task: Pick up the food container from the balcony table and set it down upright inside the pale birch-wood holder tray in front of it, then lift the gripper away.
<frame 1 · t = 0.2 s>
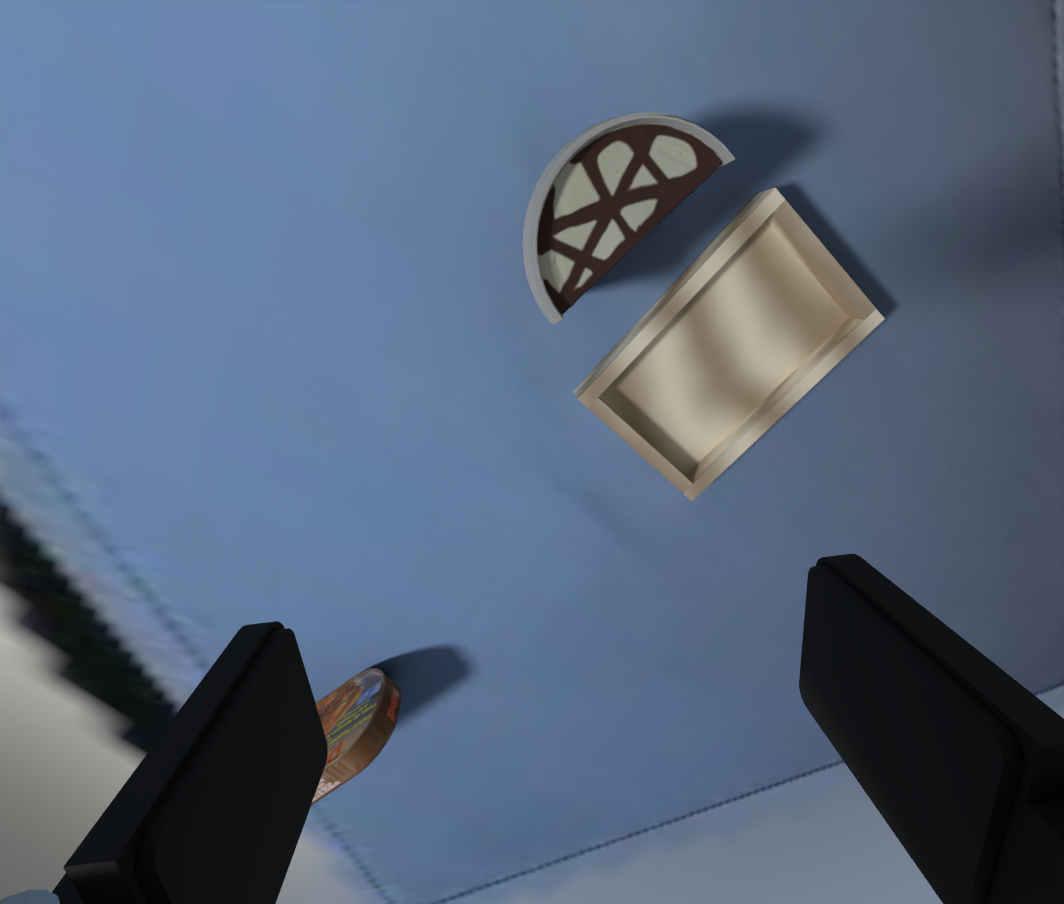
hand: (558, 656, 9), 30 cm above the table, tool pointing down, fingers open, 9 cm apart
food container: (578, 214, 35), on the table
holder tray: (715, 353, 39), on the table
tin: (341, 702, 48), on the table
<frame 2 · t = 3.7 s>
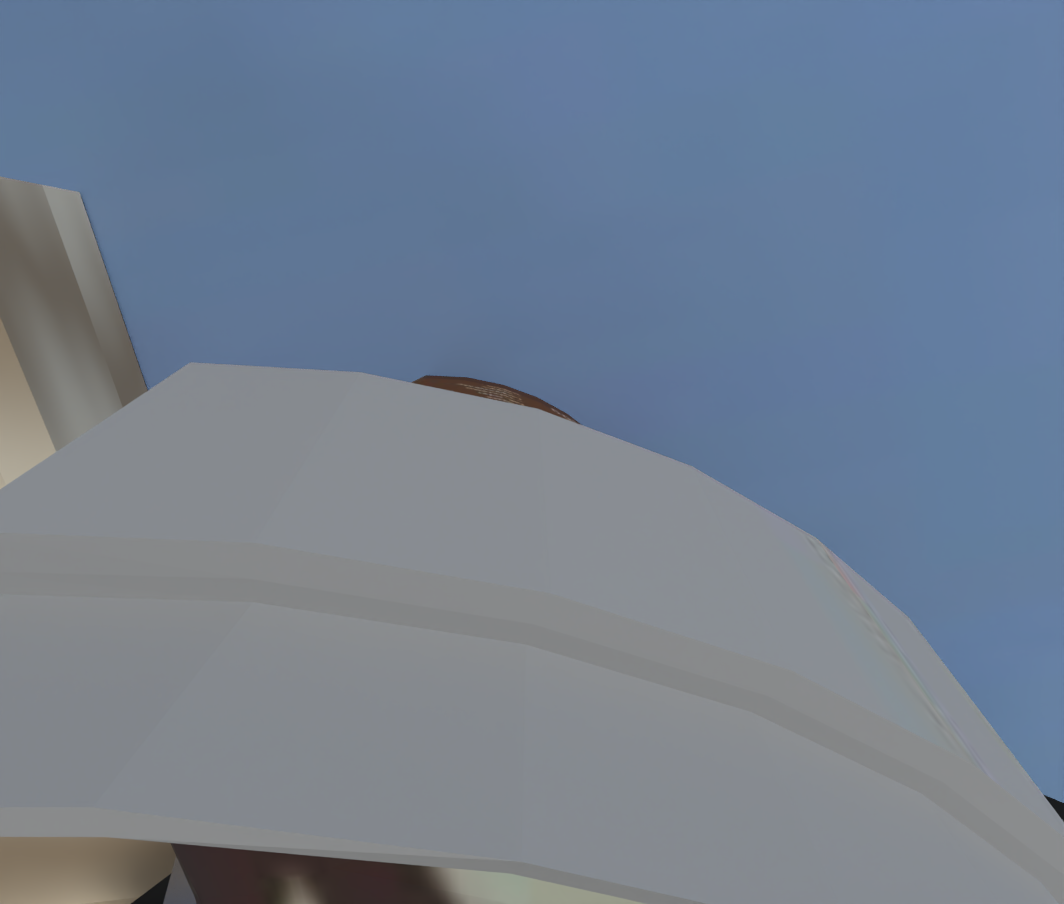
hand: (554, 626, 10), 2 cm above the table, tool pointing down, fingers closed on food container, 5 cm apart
food container: (570, 564, 13), on the table, touching gripper
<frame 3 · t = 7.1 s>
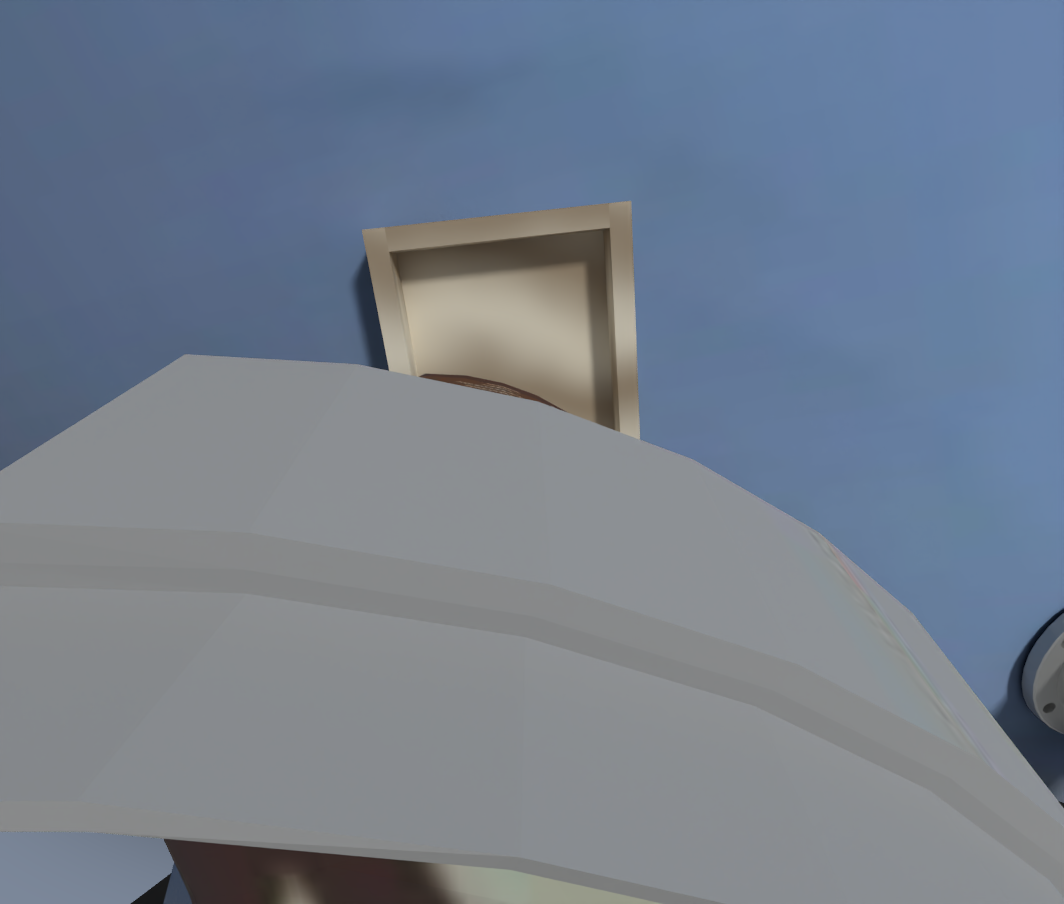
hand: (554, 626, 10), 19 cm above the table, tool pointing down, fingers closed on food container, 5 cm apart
food container: (570, 563, 13), point 17 cm above the table, touching gripper
holder tray: (518, 399, 29), on the table
when the fingers open (5 cm above the table, at t = 10.6 s): food container drops 2 cm, resting on holder tray.
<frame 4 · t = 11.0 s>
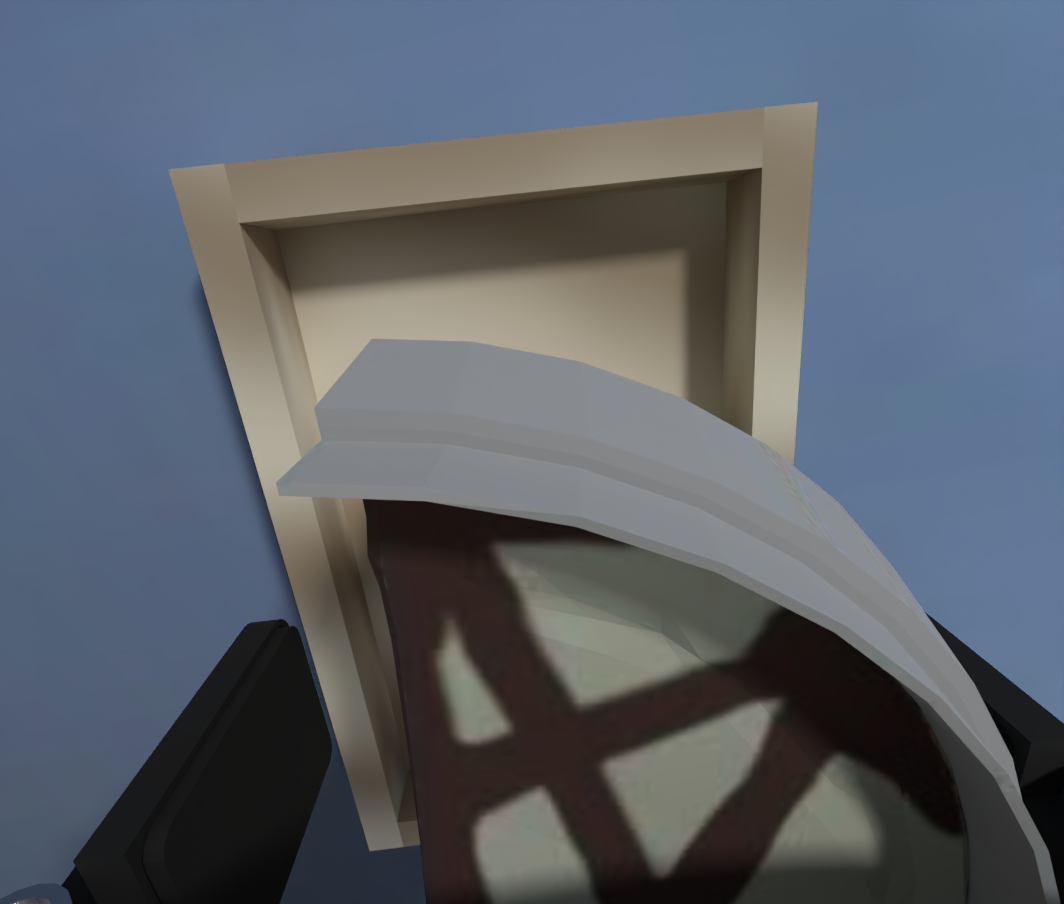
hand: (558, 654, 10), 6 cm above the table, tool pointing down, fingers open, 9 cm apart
food container: (607, 525, 14), point 1 cm above the table, touching gripper, holder tray
holder tray: (536, 515, 15), on the table
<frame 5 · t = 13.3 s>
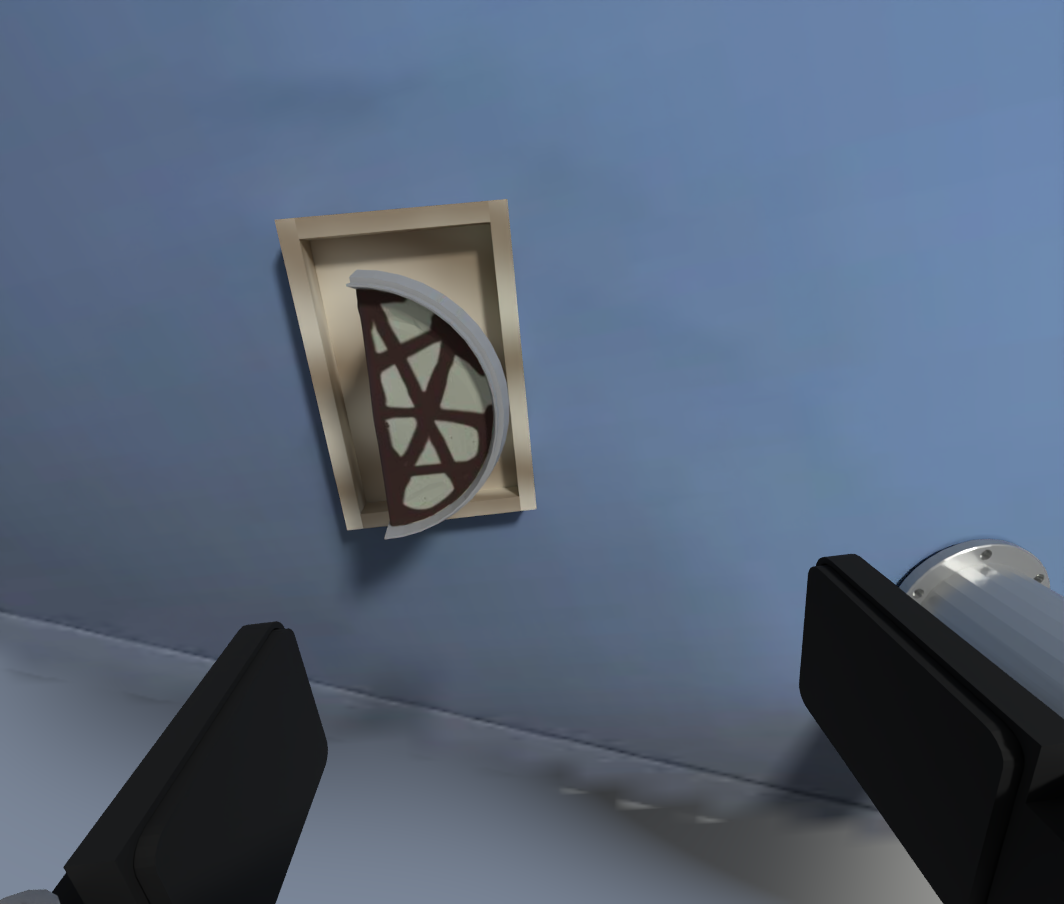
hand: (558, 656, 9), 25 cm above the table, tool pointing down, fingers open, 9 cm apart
food container: (454, 373, 32), point 1 cm above the table, touching holder tray
holder tray: (424, 372, 33), on the table
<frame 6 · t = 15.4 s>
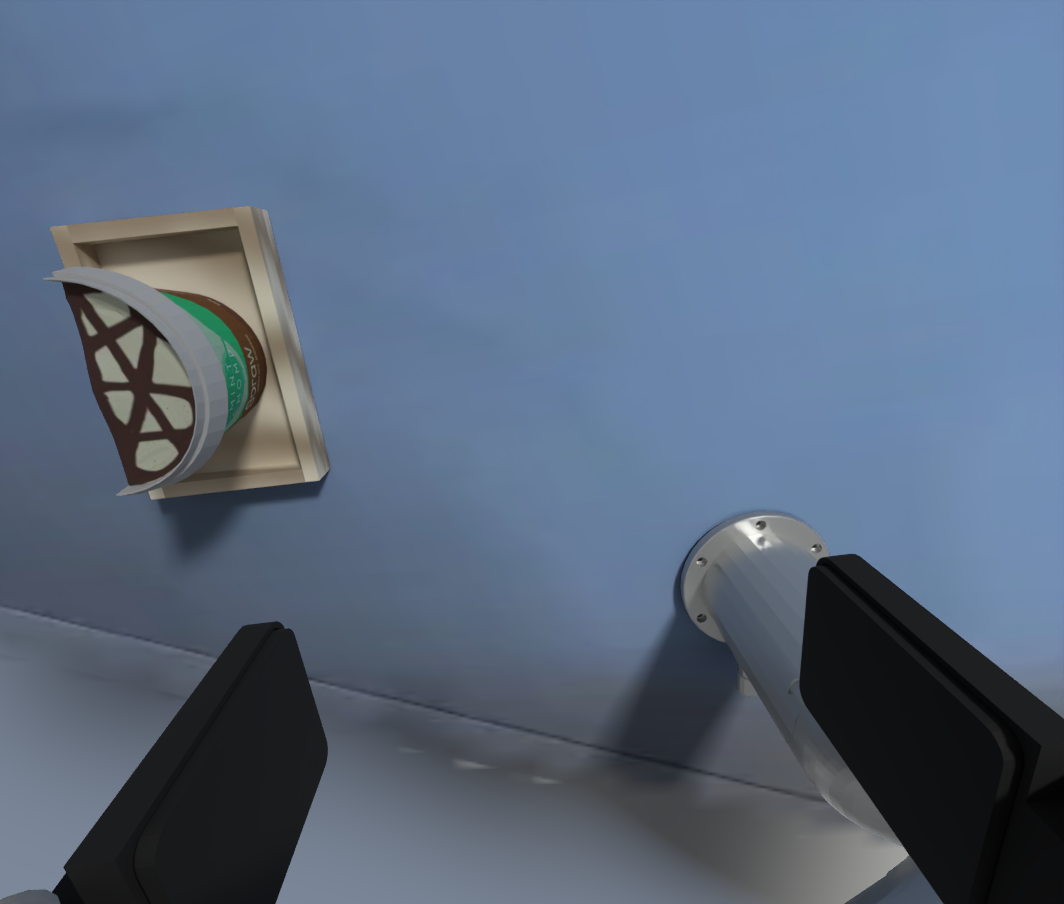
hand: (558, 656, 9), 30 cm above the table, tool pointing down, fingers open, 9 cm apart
food container: (239, 359, 36), point 1 cm above the table, touching holder tray
holder tray: (216, 359, 37), on the table
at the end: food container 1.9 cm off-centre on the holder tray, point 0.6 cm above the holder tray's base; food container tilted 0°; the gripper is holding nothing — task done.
